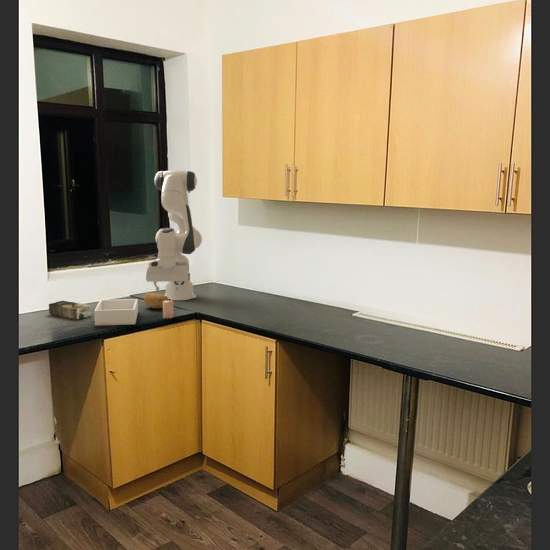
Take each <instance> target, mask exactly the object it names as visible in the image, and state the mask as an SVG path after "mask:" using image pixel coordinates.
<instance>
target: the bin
mask: <svg viewBox="0 0 550 550" xmlns="http://www.w3.org/2000/svg"><path fill="white" fill-rule="evenodd" d="M138 314H139V302H138V298H135V299H134V298H131V299H130V298H126V299H123V298H122V299H119V298H118V299H99V301H98V304H97V305H96V307H95V308H94V326H120V325H122V326H123V325H136V323H137V319H138Z"/></svg>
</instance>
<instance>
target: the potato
mask: <svg viewBox="0 0 550 550" xmlns="http://www.w3.org/2000/svg"><path fill="white" fill-rule="evenodd" d="M165 300H169V299H168V297H167V296H165V294H161V293H158V292H147V293H145V294H144V295H143V301H144V303H145V305H146V306H147V307H149V308H151V309H153V310H157V309H163V301H165Z"/></svg>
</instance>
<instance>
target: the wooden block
mask: <svg viewBox="0 0 550 550" xmlns="http://www.w3.org/2000/svg"><path fill="white" fill-rule="evenodd" d="M162 318H163V319H165V318H167V319H168V318H169V319H173V318H174V300H165V301H163V308H162ZM169 319H168V320H169Z"/></svg>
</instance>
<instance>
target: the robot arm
mask: <svg viewBox="0 0 550 550" xmlns="http://www.w3.org/2000/svg"><path fill="white" fill-rule="evenodd" d="M154 185H155V188H156V189H157V190H158V191H161V196H160V198H161V199H160V200H161V206H162V208H163V209H164V210H165V211H166V212H167V215H168V216H167V217H168V218H169V220H170V221H171V222H173V223H175V224H176V225H177V228H172V227H163V228H160V229H159V230H158V231H157V232H156V234H155V243H156V249H157V250H158V253H157V258H155V259H151V260H149V261H148V267H147V268H146V274H145V280H146V282H147V283H149V282H153V285H154V287H155V291H156V292H159V291H160V286H158V285H157V282H164V283H165V282H166V283H165V294H164V295H165V296H167V297H168V299H170V300H172V301H187V300H191V299H196V298H197V295H196V294H195V293H194V285H193V282H192V281H191V273H190V260H189V259H188V257H187V256H185V255H191V254H192V253H194V252H195V251H196V249H198V248H199V247H200V246H201V245H202V241H203V237H202V233H200V231H199V230H197V228H195V227H194V225H193V218H192V214H191V208H190V206H189V195H188V194H190V193H191V192H193V191H195V189H196V188H197V185H198V179H197V176H196V173H195V172H193V171H192V170H191V171H190V170H187V171H186V170H177V169H176V170H165V171H164V170H160V171H157V173H155V176H154ZM184 254H185V255H184Z"/></svg>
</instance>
